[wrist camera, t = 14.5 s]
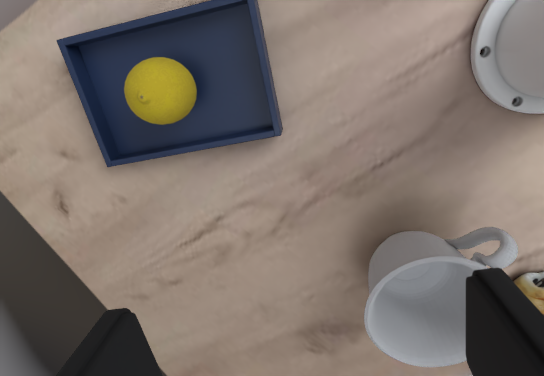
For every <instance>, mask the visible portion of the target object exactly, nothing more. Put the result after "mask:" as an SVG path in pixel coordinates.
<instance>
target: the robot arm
mask: <svg viewBox="0 0 544 376" xmlns="http://www.w3.org/2000/svg"><path fill="white" fill-rule="evenodd" d="M481 49H482V50H483V53H482V54H481V55H480V50H481ZM471 64H472V71H473V74H474V76H475V79H476V82H477V84H478V85H479V87H480V88H481V90H482V91H483V93H484V94H485V95H486V96H487V97H488V98H490V99H491V100H492V101H493V102H495V103H496V104H498V105H500V106H502V107H503V108H506V109H510V110H513V111H516V112H522V113H527V114H543V113H544V0H489V1H488V2H487V4H486V6H485V7H484V9H483V11H482V12H481V14H480V17H479V19H478V22H477V24H476V26H475V29H474V34H473V38H472V42H471ZM513 99H514V101H513ZM512 101H513V102H512ZM466 359H467V363H468V365H469V368H470V370H471V372H472V374H473V376H544V315H543V314H542V313H541V312H540V311H539V310H538V309H537V307H536V306H535V305H534V304H533V303H532V302H531V301H530V300H529V299H528V298H527V296H526V295H525V294H524V293H523V292H522V291H521V290H520V289H519V288H518V287H517V285H516V284H515V283H514V282H513V281H512V280H511V279H510V278H509V277H508V275H507V274H506V273H505V272H504V271H503V270H502V269H501V268H489V269H480V270H474V271H473V273H472V276H470V277H467V278H466ZM56 376H162V373H161V371H160V369H159V367H158V364H157V362H156V360H155V358H154V355H153V353H152V351H151V348H150V346H149V344H148V342H147V339H146V337H145V335H144V333H143V330H142V328H141V326H140V324H139V321H138V319H137V317H136V315H135V314H134V313H131V311H130V310H129V309H127V308H122V309H113V310H108V311H106V312H105V313H104V314H103V315H102V317H101V318H100V319H99V320H98V322H97V323H96V324H95V326H94V327H93V328H92V330H91V331H90V332H89V333H88V335H87V336H86V337H85V339H84V340H83V341H82V342H81V344H80V345H79V346H78V348H77V349H76V350H75V352H74V353H73V354H72V356H71V357H70V358H69V359H68V361H67V362H66V364H65V365H64V366H63V367H62V369H61V370H60V371H59V372H58V374H57V375H56Z"/></svg>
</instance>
